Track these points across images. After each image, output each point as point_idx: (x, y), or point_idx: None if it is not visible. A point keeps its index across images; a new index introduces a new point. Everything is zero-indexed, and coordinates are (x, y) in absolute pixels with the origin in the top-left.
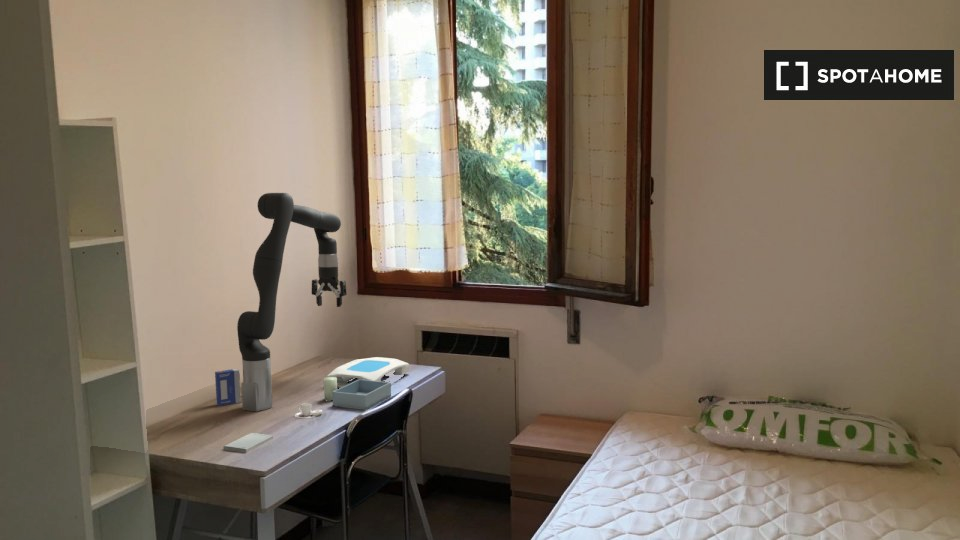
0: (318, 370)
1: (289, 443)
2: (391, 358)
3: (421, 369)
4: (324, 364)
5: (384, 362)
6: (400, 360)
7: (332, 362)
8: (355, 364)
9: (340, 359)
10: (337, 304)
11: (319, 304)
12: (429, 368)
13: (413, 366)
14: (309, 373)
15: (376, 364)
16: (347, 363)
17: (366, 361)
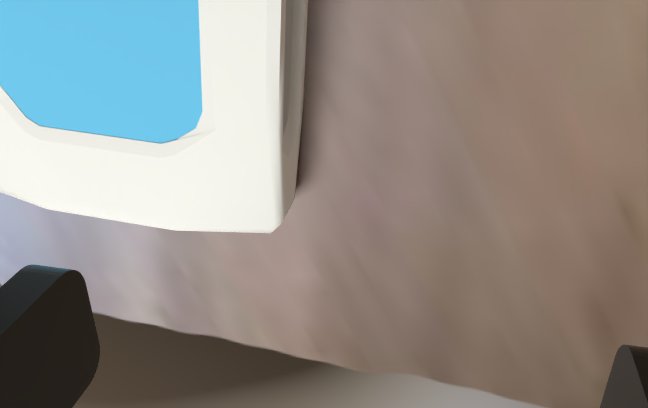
0: (601, 134)
1: None
2: (66, 202)
3: (25, 252)
4: (616, 278)
5: (52, 109)
6: (21, 198)
7: (579, 326)
8: (199, 3)
9: (553, 388)
10: (11, 296)
11: (627, 382)
12: (4, 274)
13: (93, 298)
14: (642, 42)
15: (64, 43)
16: (264, 3)
17: (176, 109)
